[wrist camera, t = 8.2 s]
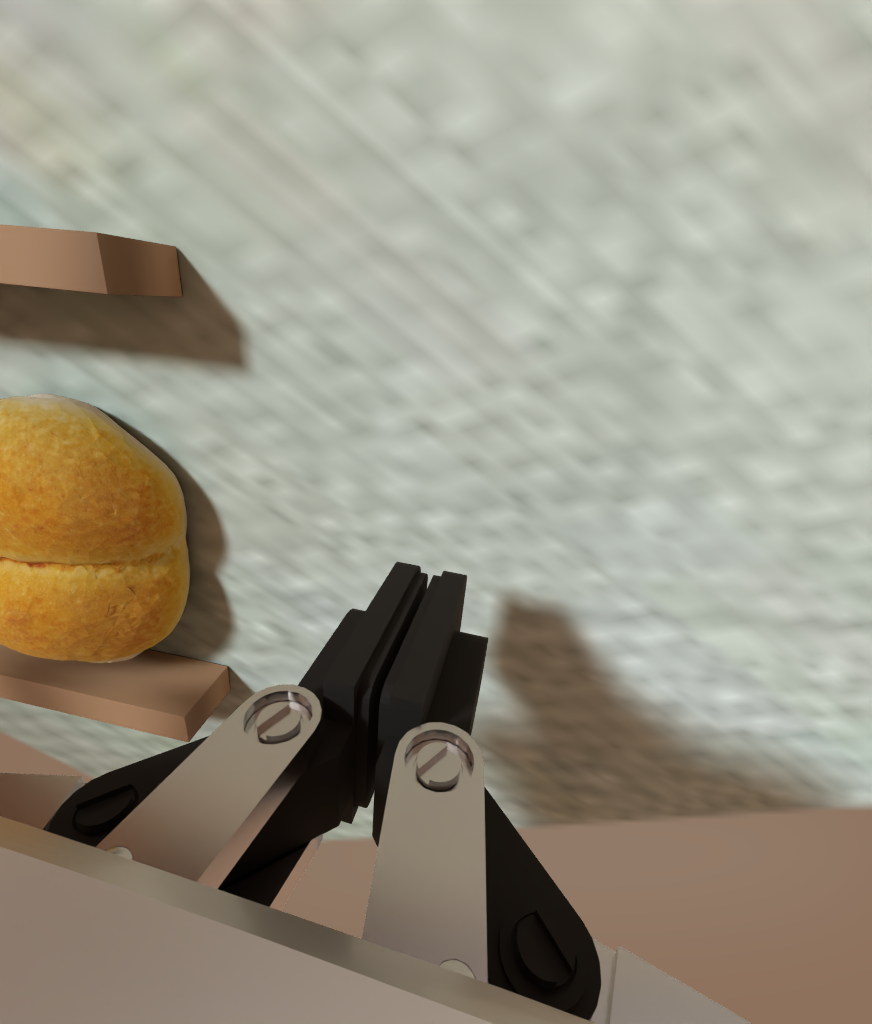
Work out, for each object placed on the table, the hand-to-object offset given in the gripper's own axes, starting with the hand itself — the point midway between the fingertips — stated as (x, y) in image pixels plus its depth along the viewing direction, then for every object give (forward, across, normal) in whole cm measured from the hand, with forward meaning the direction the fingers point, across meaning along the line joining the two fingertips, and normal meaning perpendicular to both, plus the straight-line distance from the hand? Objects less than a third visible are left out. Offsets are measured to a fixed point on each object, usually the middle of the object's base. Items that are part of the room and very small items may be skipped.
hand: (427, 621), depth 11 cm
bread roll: (+4, +13, +1) cm, 13 cm away
